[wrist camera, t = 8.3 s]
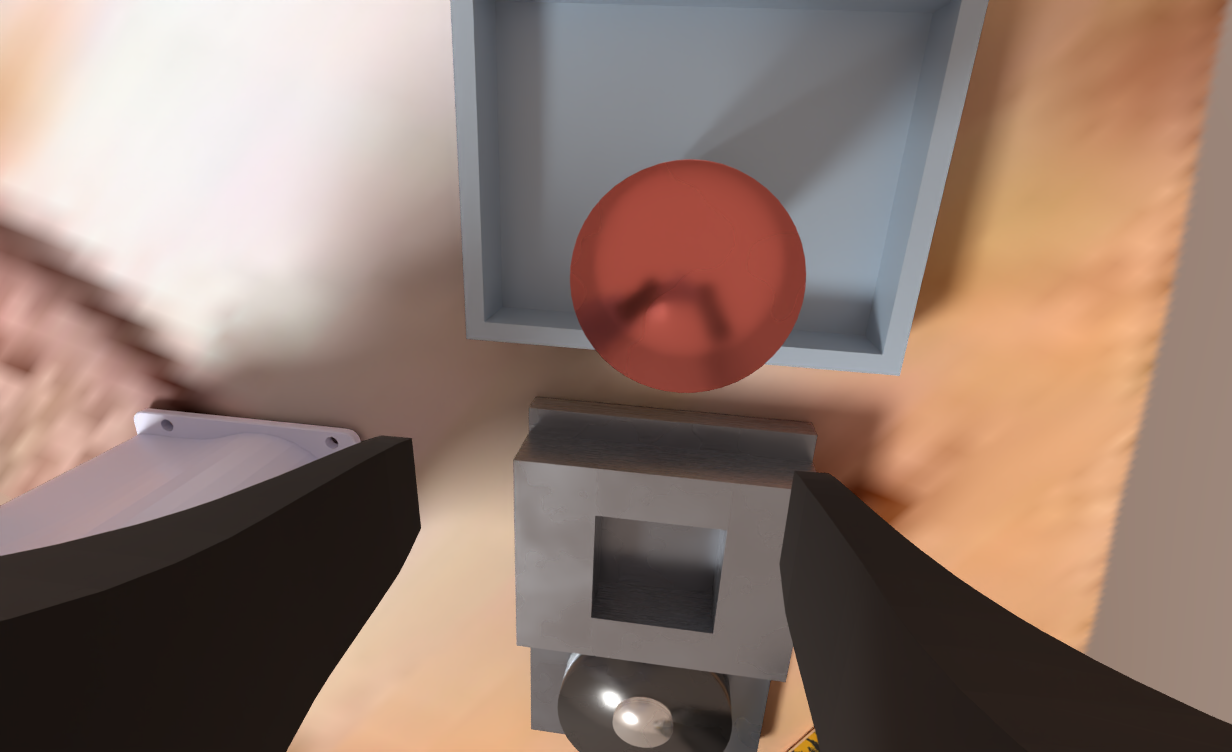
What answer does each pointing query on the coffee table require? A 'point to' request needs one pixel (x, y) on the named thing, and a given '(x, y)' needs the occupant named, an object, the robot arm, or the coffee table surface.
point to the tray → (711, 145)
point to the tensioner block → (653, 572)
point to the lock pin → (688, 276)
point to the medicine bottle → (807, 743)
